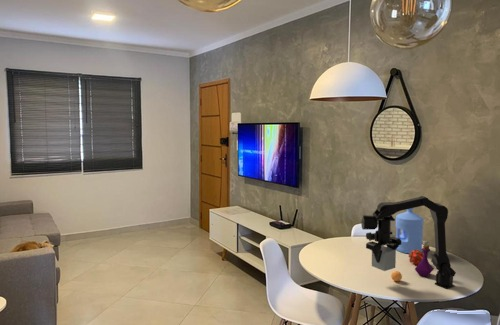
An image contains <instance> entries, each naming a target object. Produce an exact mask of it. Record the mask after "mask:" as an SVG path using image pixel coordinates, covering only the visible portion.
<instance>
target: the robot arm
mask: <svg viewBox="0 0 500 325" xmlns="http://www.w3.org/2000/svg"><path fill="white" fill-rule="evenodd" d="M419 207H425V208H427V209H429V211H430V215H431V218H432V221H433V223H434V225H433V226H434V227H433V228H434V246H435V249H434V250H435V251H434V253H431V254H430V256H431V261H430V262H431V263H432V264H433V266H434V268H435V269H436V270H437V271H436V275H435V282H434V285H437V286H439V287H441V288H443V289H447V290H448V289H450V288H454V287H455V284H454V277H455V275H456V273H457V272H456V271H455V270H454V269H453V268H452V266H451V261H450V259H449V256H448V253H447V240H446V239H447V238H446V222H447V220H448V217H449V209H448V207H446V206H445V205H443V204H441V203H439V202H434V201H432V200H431V199H429V197H426V196H424V195H420V196H417V197H413V198H409V199H403V200H400V201H395V202H394V201H393V202H392V201H386V202H385V201H383V202H379V203H378V205H377V206H376V209H375V210H374V212H373V213H372V215H371V214H370V215H366V214H363V215H362V218H361V221H360V224H361V229H362V230H365V231H366V230H373V231H374V230H375V232H366V234H365V239H366V240H368V241H369V242H366V244H365V249H367V250H370V251H371V252H372V251H373V253H374V256H375V259H376V262H377V263H379V261H380V258H381V254H382V250H380V249H381V246H385V247H388V248H391V249H394V250H396V249H397V248H398V247H399V246H398V245H401V239H400V238H396V236H391V235H393V231H392V230H391V222H396V218H394V216H393V215H395V214H397V213H398V212H401V211H407V209H411V208H413V209H414V208H419ZM376 229H377V230H376ZM396 251H397V250H396Z"/></svg>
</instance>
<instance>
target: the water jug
mask: <svg viewBox="0 0 500 325" xmlns="http://www.w3.org/2000/svg"><path fill="white" fill-rule="evenodd" d="M413 209H414V208H411V209H406V211H404V212H402V213H398V214H396V215H395V216H396V217H395V228H396V234H395V237H396V238H400V239H401V245H398V246H399V247H398V248H397V249H396V251H397V252H400V253H403V254H408V255H409V254H410V252H411V251H413V250H419V251H420V252H423V250H422V248H423V237H424V236H423V230H424V217H423V216H421V215H419V214H417V213H415V212H413ZM400 230H401V231H400ZM400 232H401V233H400Z"/></svg>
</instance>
